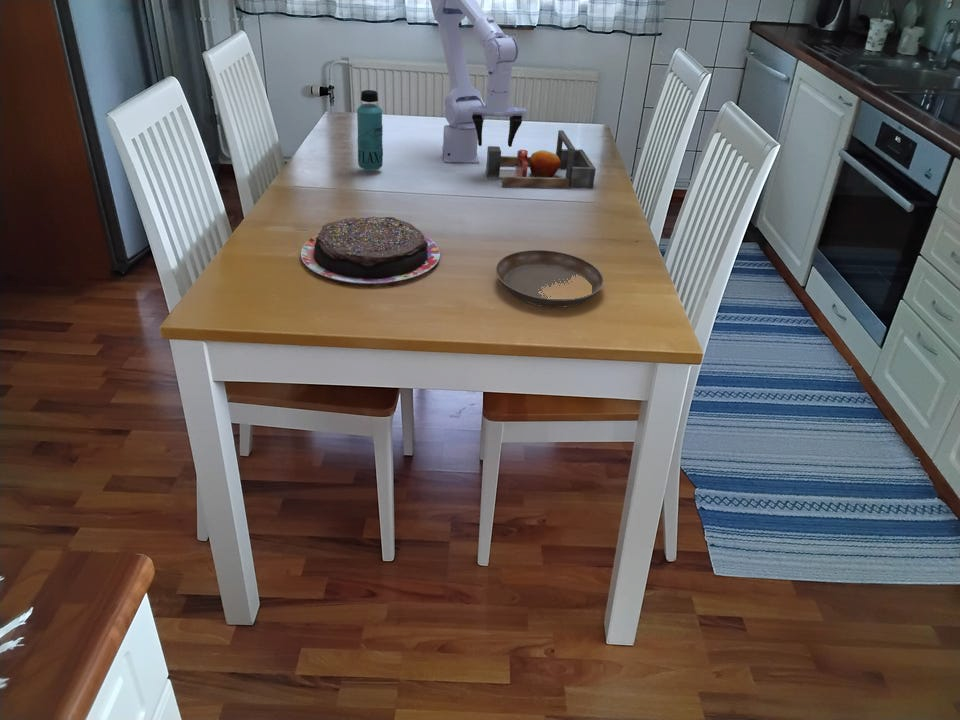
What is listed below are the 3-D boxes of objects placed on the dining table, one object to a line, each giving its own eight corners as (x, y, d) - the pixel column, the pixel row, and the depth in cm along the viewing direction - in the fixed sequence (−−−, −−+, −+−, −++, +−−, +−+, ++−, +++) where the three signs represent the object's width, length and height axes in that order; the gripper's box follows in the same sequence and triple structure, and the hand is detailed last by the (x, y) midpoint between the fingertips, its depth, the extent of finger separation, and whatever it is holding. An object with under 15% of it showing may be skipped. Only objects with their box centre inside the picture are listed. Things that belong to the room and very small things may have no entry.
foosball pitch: (502, 187, 189) (505, 147, 183) (494, 164, 203) (497, 127, 198) (593, 189, 192) (599, 150, 186) (579, 166, 206) (584, 130, 200)
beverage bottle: (353, 173, 191) (351, 92, 180) (363, 165, 196) (361, 86, 185) (378, 177, 190) (376, 95, 179) (387, 169, 195) (386, 89, 184)
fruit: (523, 175, 193) (529, 144, 192) (528, 182, 200) (534, 153, 200) (554, 180, 191) (560, 149, 191) (557, 187, 199) (564, 157, 198)
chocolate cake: (373, 219, 168) (373, 191, 165) (468, 258, 154) (470, 228, 150) (271, 256, 150) (268, 225, 146) (368, 305, 135) (367, 272, 132)
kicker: (489, 182, 191) (490, 155, 188) (484, 168, 200) (486, 142, 196) (528, 182, 193) (531, 156, 189) (522, 169, 201) (524, 143, 197)
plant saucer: (613, 279, 150) (616, 264, 148) (583, 325, 134) (585, 308, 132) (517, 256, 156) (519, 241, 154) (477, 297, 140) (478, 281, 138)
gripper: (470, 93, 180) (467, 149, 187) (530, 95, 182) (525, 150, 189) (468, 86, 186) (465, 140, 193) (525, 88, 187) (521, 142, 195)
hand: (494, 145), depth 191 cm, fingers open, 7 cm apart
